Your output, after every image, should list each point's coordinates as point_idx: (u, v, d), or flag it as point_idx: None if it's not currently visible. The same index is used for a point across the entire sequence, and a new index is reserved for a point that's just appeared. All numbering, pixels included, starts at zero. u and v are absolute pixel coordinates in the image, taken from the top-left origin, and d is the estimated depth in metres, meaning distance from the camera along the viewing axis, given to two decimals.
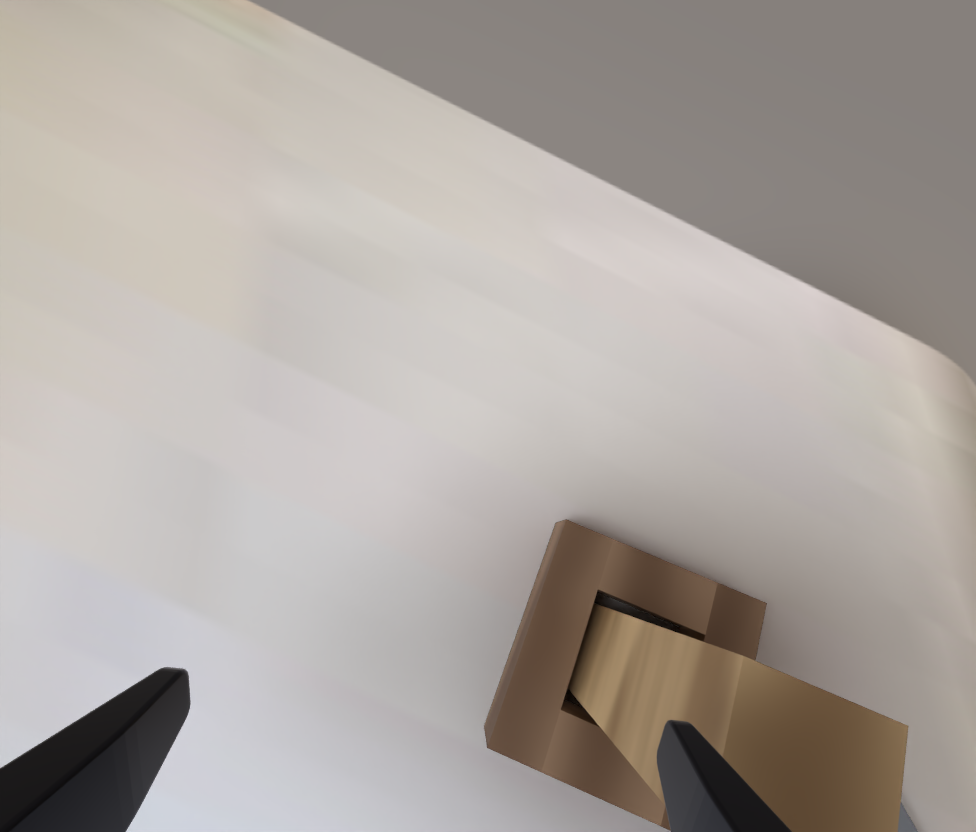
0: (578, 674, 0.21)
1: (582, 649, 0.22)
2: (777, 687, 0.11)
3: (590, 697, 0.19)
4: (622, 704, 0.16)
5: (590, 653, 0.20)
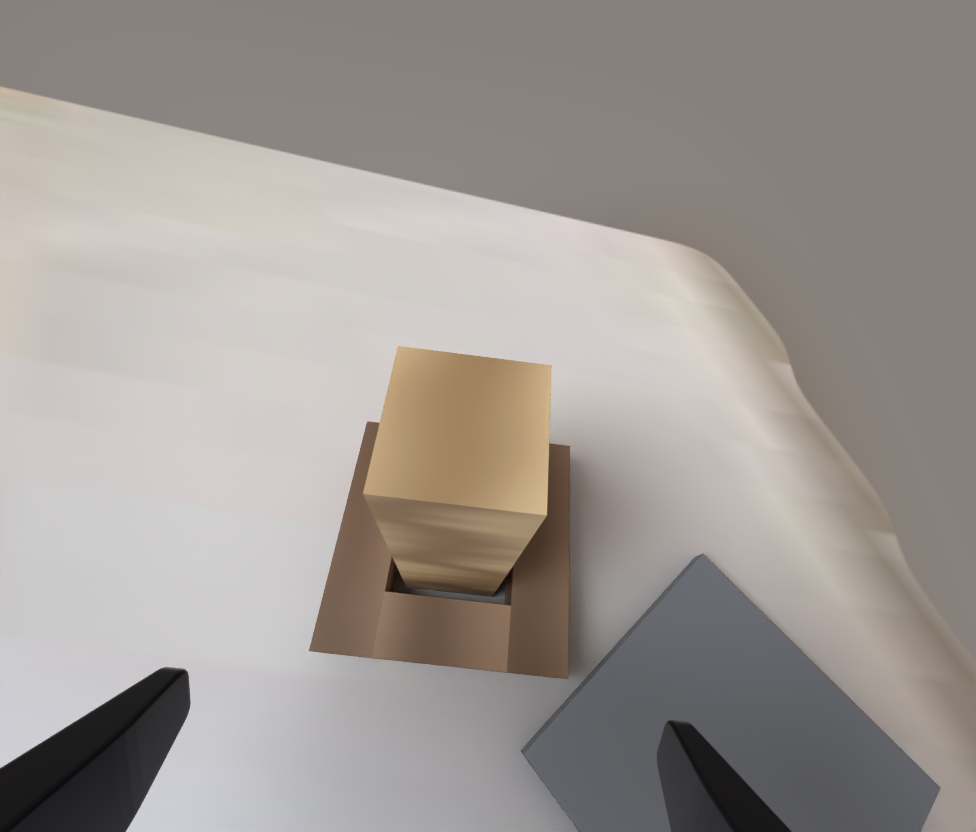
0: None
1: None
2: (430, 362, 0.12)
3: None
4: None
5: None
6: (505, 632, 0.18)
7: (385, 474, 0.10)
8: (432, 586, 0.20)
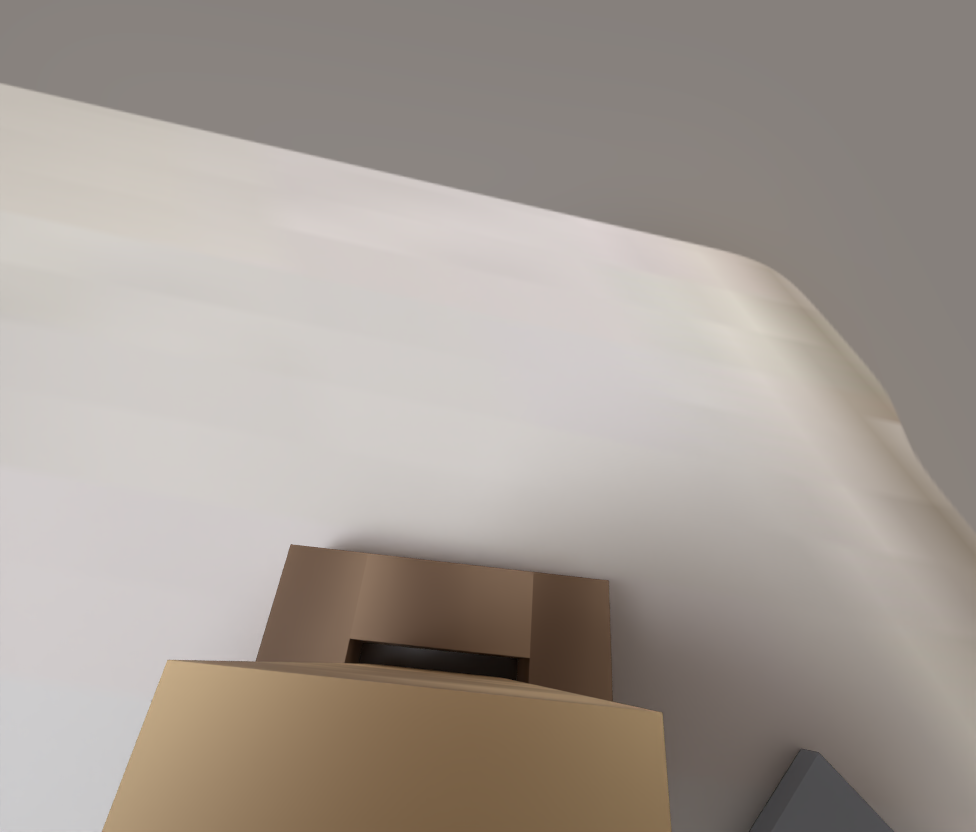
0: None
1: None
2: (266, 728, 0.03)
3: None
4: None
5: None
6: None
7: None
8: None
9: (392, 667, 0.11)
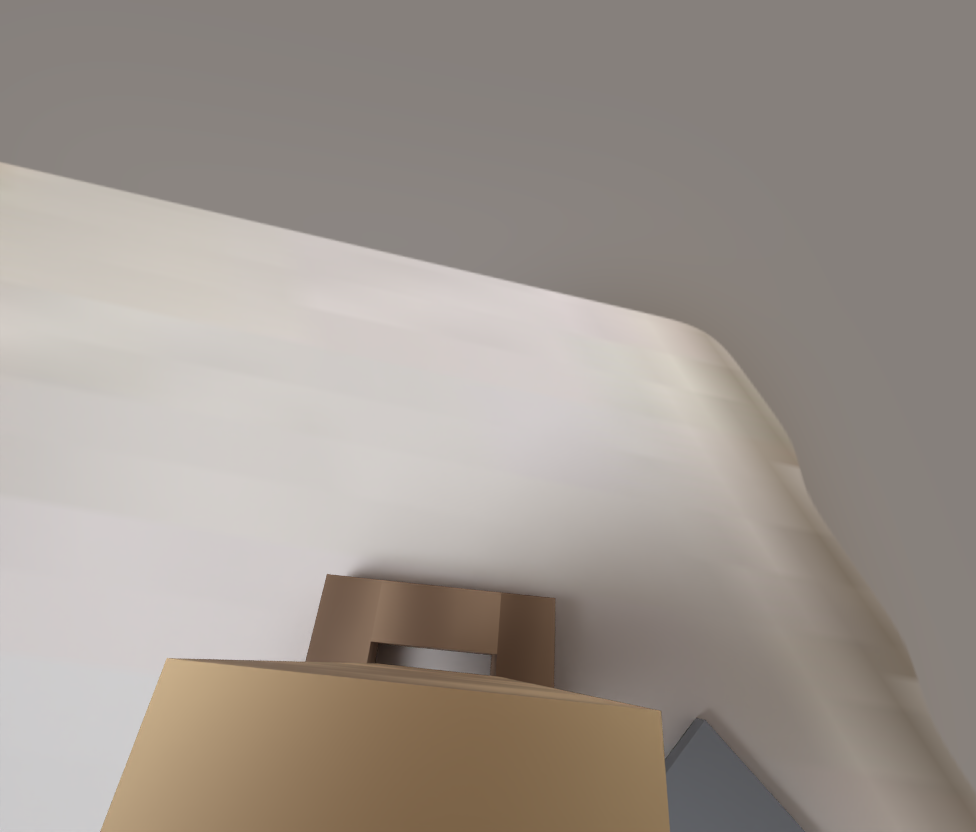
0: None
1: None
2: (264, 725, 0.03)
3: None
4: None
5: None
6: None
7: None
8: None
9: None
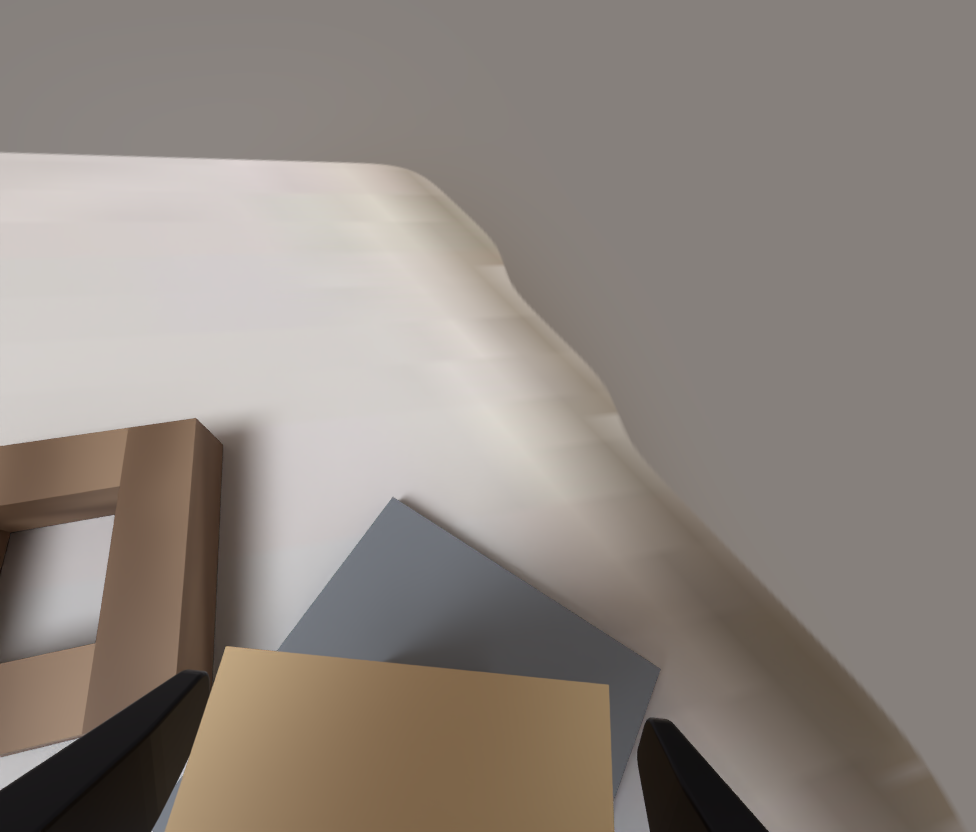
0: None
1: None
2: (302, 696, 0.05)
3: None
4: None
5: None
6: (84, 681, 0.14)
7: None
8: None
9: None
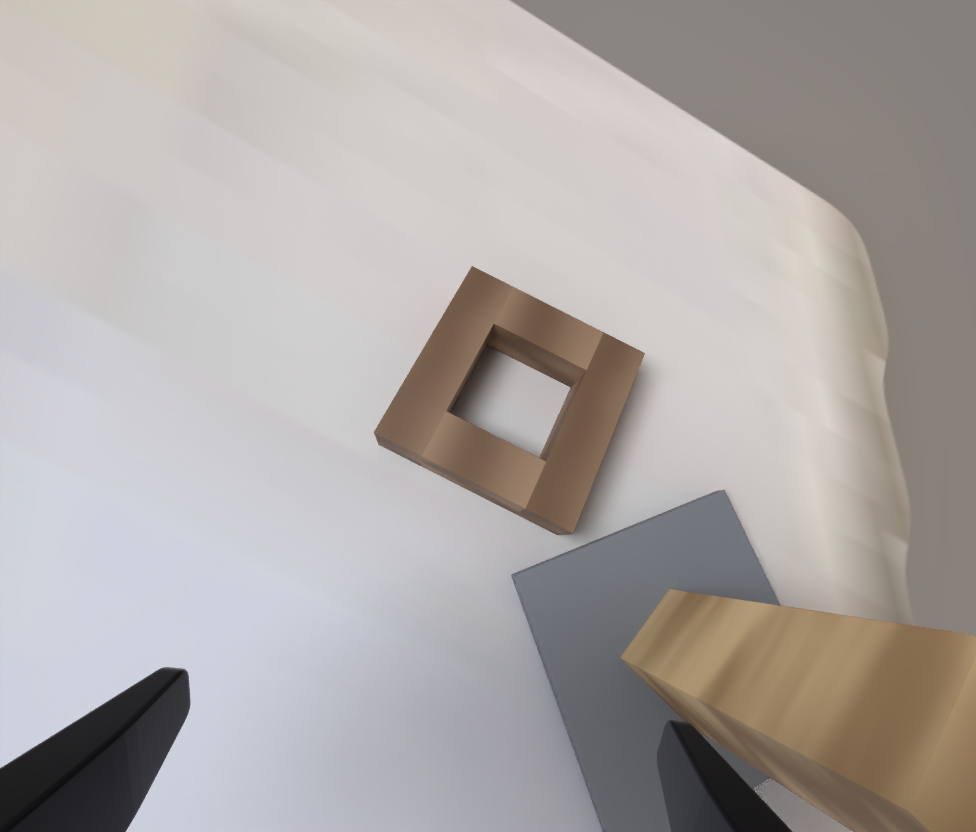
0: (646, 648, 0.20)
1: (653, 628, 0.21)
2: None
3: (670, 668, 0.17)
4: (734, 675, 0.15)
5: (669, 632, 0.19)
6: (534, 479, 0.21)
7: (935, 802, 0.09)
8: (651, 683, 0.20)
9: None
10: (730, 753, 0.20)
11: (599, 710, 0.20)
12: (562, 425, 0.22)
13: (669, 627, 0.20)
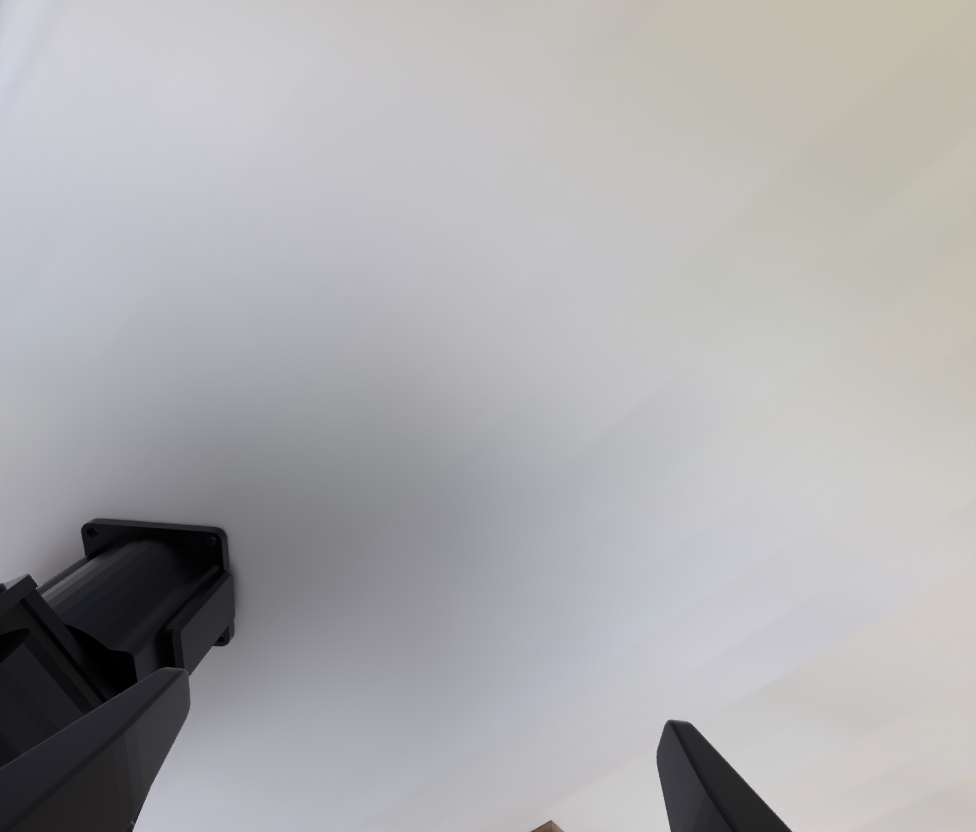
0: None
1: None
2: None
3: None
4: None
5: None
6: None
7: None
8: None
9: None
10: None
11: None
12: None
13: None
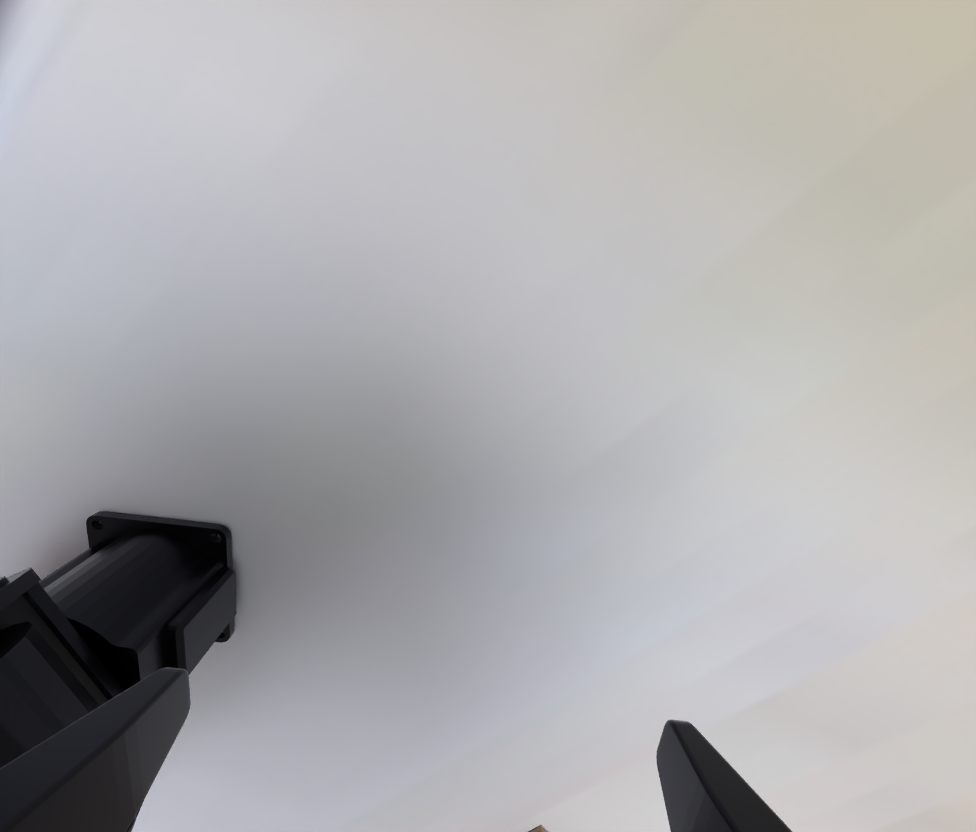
0: None
1: None
2: None
3: None
4: None
5: None
6: None
7: None
8: None
9: None
10: None
11: None
12: None
13: None
